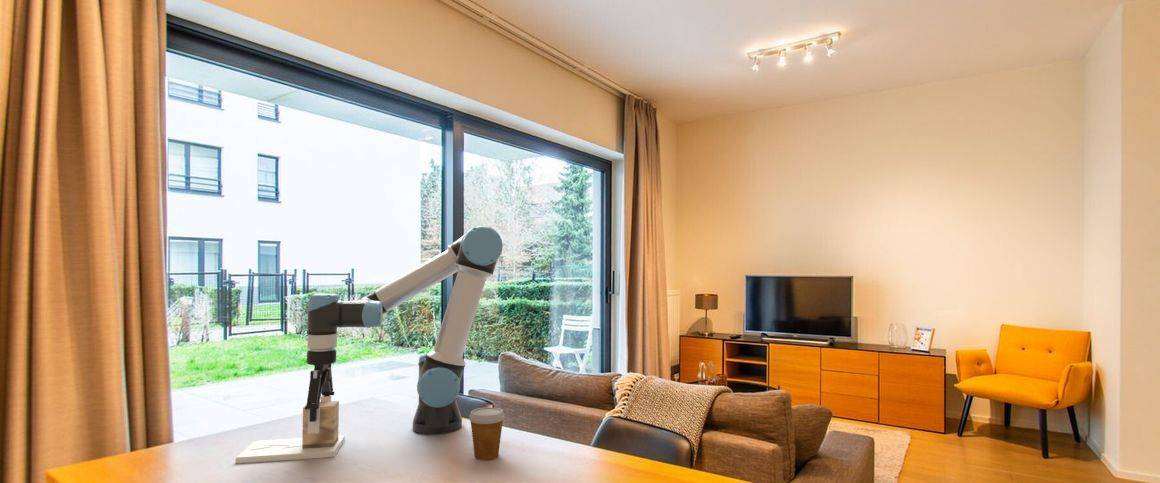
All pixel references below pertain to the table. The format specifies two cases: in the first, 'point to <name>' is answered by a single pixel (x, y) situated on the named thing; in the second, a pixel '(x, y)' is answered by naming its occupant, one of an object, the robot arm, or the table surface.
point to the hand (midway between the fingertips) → (319, 425)
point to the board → (285, 450)
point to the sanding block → (322, 426)
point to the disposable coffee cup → (486, 432)
